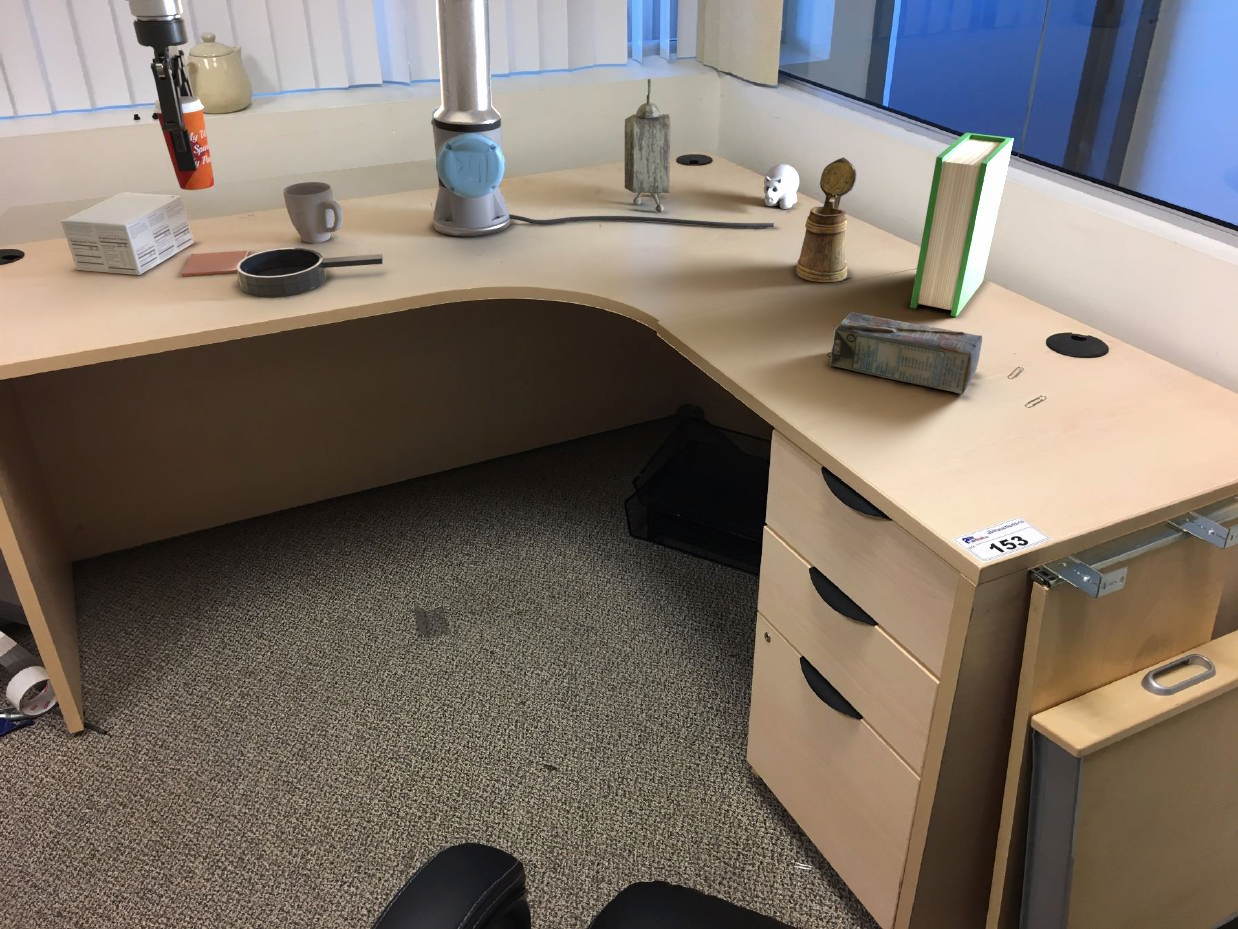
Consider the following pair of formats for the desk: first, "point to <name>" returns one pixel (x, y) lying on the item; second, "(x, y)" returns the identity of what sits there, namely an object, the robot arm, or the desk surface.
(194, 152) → the paper cup
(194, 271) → the coaster
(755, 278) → the desk surface
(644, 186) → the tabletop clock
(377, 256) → the pan handle
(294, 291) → the pan
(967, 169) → the hardback book
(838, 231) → the wooden mug
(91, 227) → the supplement box
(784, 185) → the chubby cartoon animal
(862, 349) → the beverage carton
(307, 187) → the mug
